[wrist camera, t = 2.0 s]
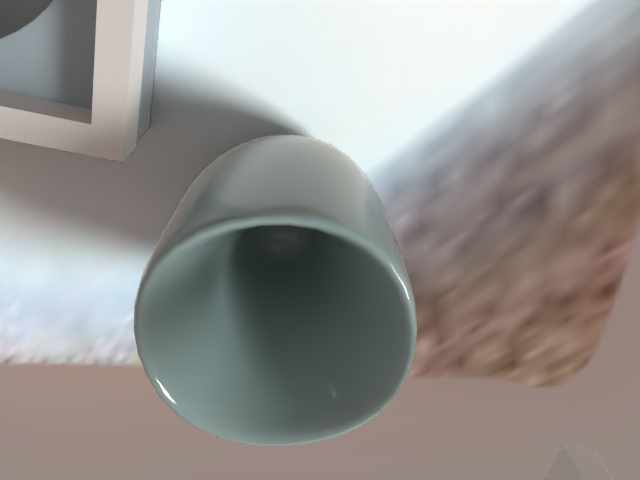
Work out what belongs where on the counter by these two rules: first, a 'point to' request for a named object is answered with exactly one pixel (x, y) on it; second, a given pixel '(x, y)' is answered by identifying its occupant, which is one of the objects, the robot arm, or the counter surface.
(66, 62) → the grey drawer box
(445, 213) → the counter surface
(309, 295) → the cup
